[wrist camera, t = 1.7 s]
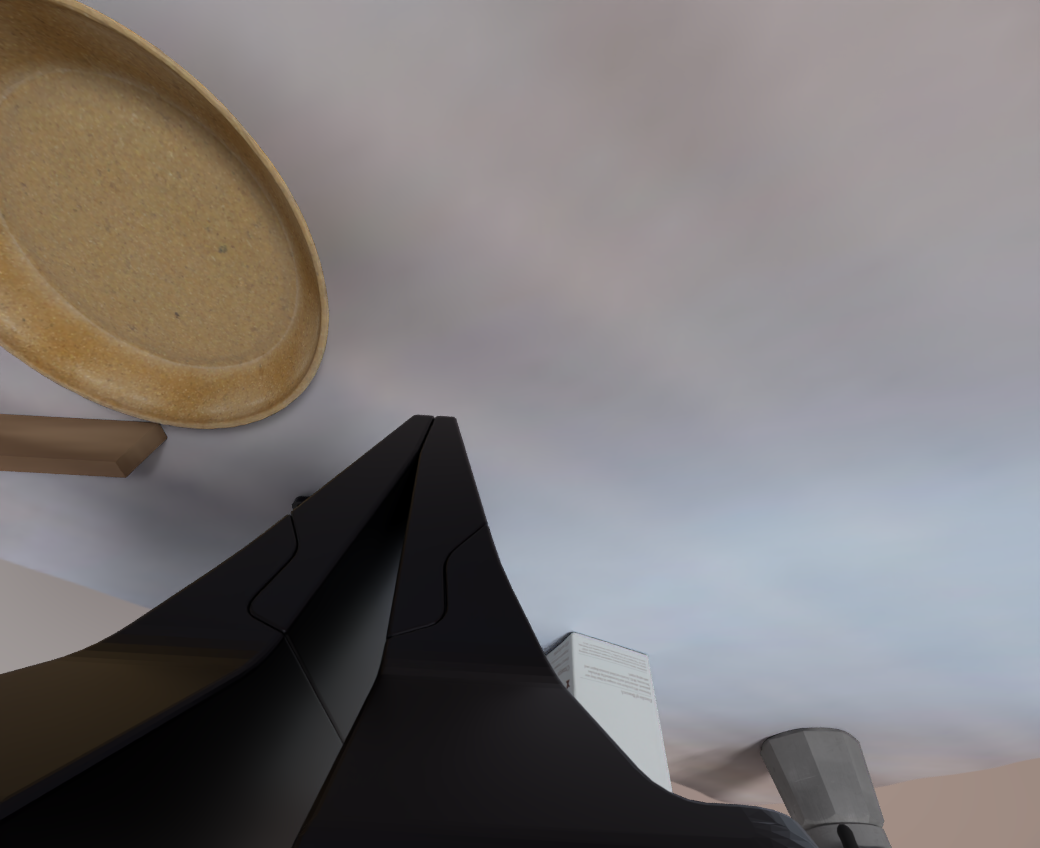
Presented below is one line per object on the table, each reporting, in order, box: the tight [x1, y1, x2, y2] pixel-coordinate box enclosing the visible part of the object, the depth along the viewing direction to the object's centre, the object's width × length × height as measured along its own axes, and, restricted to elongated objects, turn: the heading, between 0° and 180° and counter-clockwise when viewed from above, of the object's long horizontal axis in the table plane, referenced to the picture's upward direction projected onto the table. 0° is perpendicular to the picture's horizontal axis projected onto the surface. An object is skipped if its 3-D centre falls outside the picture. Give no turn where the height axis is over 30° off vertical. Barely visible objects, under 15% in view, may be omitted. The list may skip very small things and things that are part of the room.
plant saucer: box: [0, 0, 329, 429], centre depth 17 cm, size 15×15×3 cm
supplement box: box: [546, 632, 673, 793], centre depth 32 cm, size 7×7×13 cm
